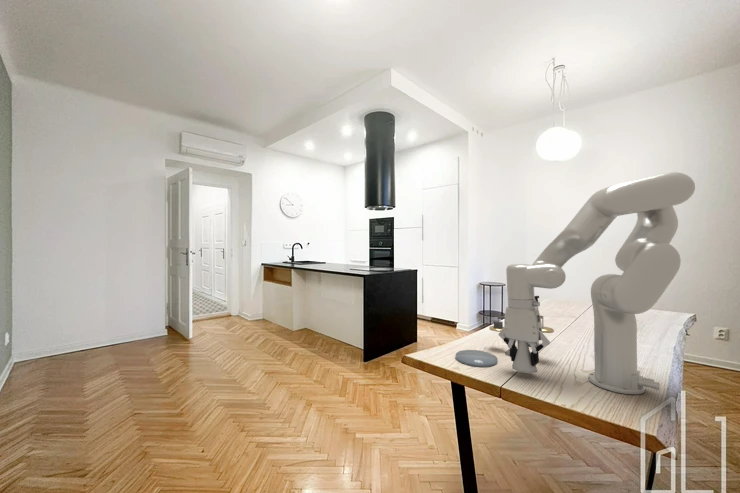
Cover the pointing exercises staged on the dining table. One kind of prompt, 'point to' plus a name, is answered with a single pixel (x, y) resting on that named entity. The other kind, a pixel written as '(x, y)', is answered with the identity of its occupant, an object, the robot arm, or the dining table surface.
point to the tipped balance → (499, 327)
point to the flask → (523, 359)
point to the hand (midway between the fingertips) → (524, 361)
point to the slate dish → (476, 358)
